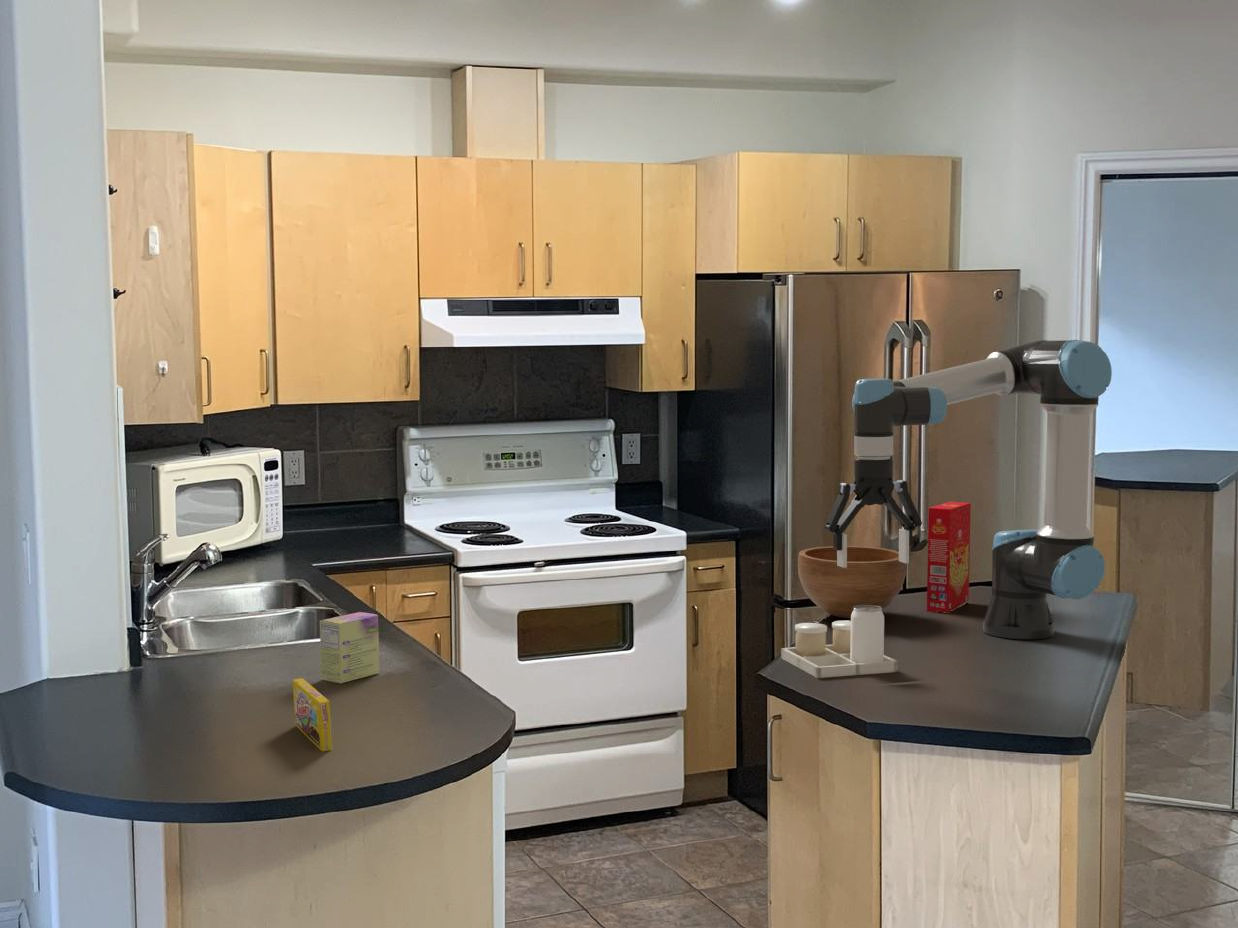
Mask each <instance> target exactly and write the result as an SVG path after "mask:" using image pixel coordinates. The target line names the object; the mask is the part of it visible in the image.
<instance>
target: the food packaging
mask: <svg viewBox="0 0 1238 928" xmlns="http://www.w3.org/2000/svg"><path fill="white" fill-rule="evenodd" d="M971 505H972V504H971V502H961V501H960V502H958V501H948V502H944V503H941V504H938V505H933V506H930V507H928V519H927V521H928V523H927V524H928V527H927V531H928V532H927V534H928V535H927V537H928V538H927V573H926V574H927V579H926V580H927V583H926V586H927V587H926V612H928V611H938V612H946V613H948V612H950V611H951V610H953V609H955V608H957V607H958V606H960V605H961V604H963V603H964V602H966V601H968V600H969V599H970V598H969V595H970V593H969V592H970V589H969V588H970V557H971V556H970V555H971V554H970V553H971V549H970V548H971V511H972V510H971V509H972V508H971ZM946 613H945V614H946ZM950 613H951V612H950ZM948 614H949V613H948Z"/></svg>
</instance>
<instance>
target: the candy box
mask: <svg viewBox="0 0 1238 928" xmlns="http://www.w3.org/2000/svg"><path fill="white" fill-rule="evenodd" d="M292 692H293V693H292V695H293V698H292V699H293V709H294V722H295V723H294V724H295V725H294V726H295V727H297V729H298V730H300V731H301V732H302V734H304V735H305V736H306V737H307V739H308V740H310V741H311V742H312V743H313V744H314V745H315V746H316V748H318V749H319V750H320V752H328V751H332V750H333V742H332V741H333V740H332V739H333V738H332V723H331V721H332V720H331V709H330V708H331V707H330V700H329V699H328V698H327V697H325V696H324V695H323V694H322V693H321V692H319V691H318V690H317V689H316V688H315V687H314V686H312V685H311V684H310V683H309V682H308V681H306V680H305V679H304V678H303V677H301V678H296V679H295V678H294V679H292Z"/></svg>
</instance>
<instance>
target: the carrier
mask: <svg viewBox="0 0 1238 928" xmlns="http://www.w3.org/2000/svg"><path fill="white" fill-rule="evenodd" d="M780 659H781V660H783V661H786V662H787V663H789V664H790V665H792V666H795V667H796V668H798V669H800V670H801V671H802V672H805V673H807V674H809V675H810V676H813V677H814V678H816V679H825V678H836V677H849V676H851V677H852V676H864V675H874V674H876V675H877V674H885V673H887V674H888V673H898V670H899V668H898V664H899V663H898V660H896V659H894V658H892V657H889V656H887V655H885V654H884V659H883V662H871V663H856V662H854V661H852V660H850V653H848V654H838V653H836V652H834V651H833V643H832V644H826V655H821V656H808V657H801V656H799V655H797V654H796V646H794V647H781V648H780Z"/></svg>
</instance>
